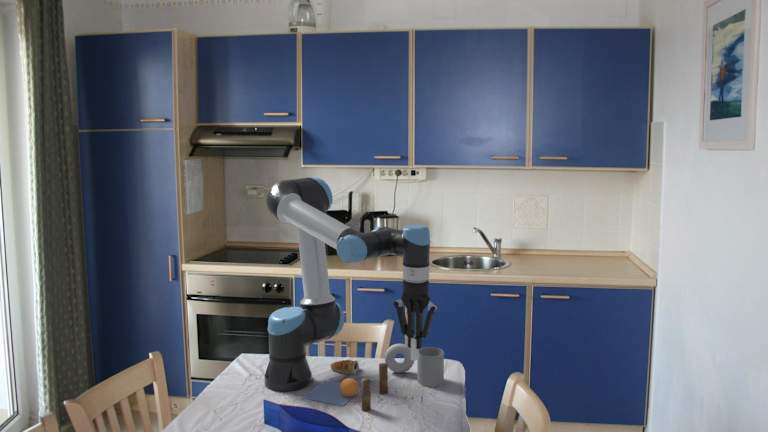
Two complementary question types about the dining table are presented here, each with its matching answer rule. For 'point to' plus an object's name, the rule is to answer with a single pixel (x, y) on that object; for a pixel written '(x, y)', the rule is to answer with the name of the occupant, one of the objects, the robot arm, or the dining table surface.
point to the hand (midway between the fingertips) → (414, 358)
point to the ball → (349, 387)
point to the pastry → (345, 366)
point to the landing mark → (329, 393)
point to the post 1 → (365, 394)
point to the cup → (430, 367)
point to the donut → (395, 365)
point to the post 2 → (383, 378)
